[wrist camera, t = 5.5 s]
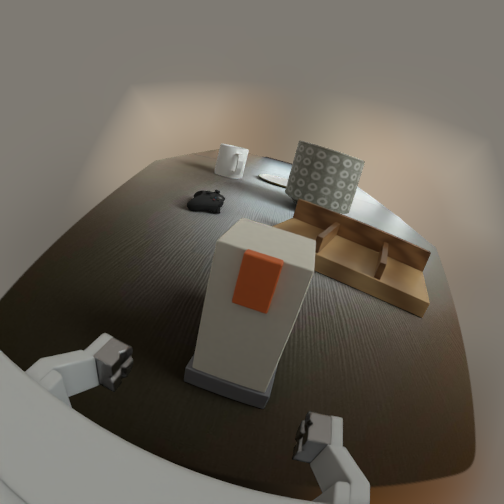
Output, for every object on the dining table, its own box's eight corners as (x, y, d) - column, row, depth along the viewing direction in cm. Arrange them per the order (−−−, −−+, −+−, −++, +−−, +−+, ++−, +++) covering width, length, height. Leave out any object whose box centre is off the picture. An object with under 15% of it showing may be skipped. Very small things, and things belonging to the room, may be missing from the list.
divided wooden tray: (416, 281, 51) (430, 251, 48) (422, 317, 37) (441, 279, 34) (291, 228, 60) (299, 198, 58) (256, 245, 47) (267, 206, 44)
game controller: (192, 194, 63) (215, 179, 62) (206, 214, 65) (229, 200, 63) (183, 205, 54) (210, 188, 53) (199, 228, 56) (226, 212, 55)
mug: (250, 182, 99) (258, 153, 95) (223, 178, 94) (231, 147, 90) (235, 173, 110) (241, 147, 106) (210, 170, 105) (216, 142, 101)
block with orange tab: (285, 320, 29) (321, 219, 25) (262, 412, 18) (322, 277, 14) (230, 302, 30) (256, 199, 26) (181, 383, 19) (205, 240, 15)
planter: (333, 210, 92) (350, 157, 86) (355, 229, 75) (376, 165, 68) (277, 195, 90) (293, 139, 83) (288, 212, 72) (308, 142, 66)
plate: (288, 191, 102) (289, 188, 102) (247, 175, 114) (248, 172, 114) (317, 193, 118) (318, 190, 117) (278, 178, 129) (279, 175, 129)
